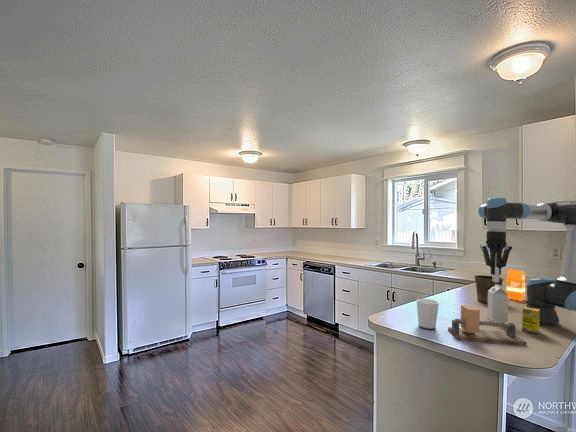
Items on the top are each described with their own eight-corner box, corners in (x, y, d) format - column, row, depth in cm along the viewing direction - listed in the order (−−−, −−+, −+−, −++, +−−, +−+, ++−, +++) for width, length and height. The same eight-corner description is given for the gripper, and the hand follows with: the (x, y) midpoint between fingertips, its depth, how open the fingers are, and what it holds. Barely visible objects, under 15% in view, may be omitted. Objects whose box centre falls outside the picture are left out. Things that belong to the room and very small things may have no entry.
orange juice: (509, 297, 217) (510, 269, 218) (525, 300, 211) (525, 270, 211) (506, 298, 212) (506, 269, 213) (521, 301, 206) (522, 271, 206)
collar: (472, 327, 142) (472, 305, 142) (479, 333, 135) (479, 310, 135) (460, 326, 143) (461, 305, 143) (467, 332, 136) (467, 309, 136)
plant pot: (475, 303, 199) (476, 278, 199) (471, 297, 214) (472, 274, 214) (505, 306, 192) (506, 280, 193) (499, 300, 207) (500, 276, 207)
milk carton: (502, 319, 165) (503, 284, 165) (507, 323, 158) (508, 286, 159) (487, 318, 167) (488, 283, 167) (492, 322, 160) (492, 285, 160)
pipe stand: (510, 335, 142) (510, 318, 142) (526, 345, 130) (526, 327, 130) (448, 330, 146) (448, 314, 146) (458, 340, 134) (458, 322, 134)
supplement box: (521, 331, 148) (522, 308, 148) (524, 328, 152) (524, 306, 152) (537, 334, 143) (538, 311, 144) (539, 331, 148) (539, 309, 148)
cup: (425, 331, 143) (426, 304, 143) (411, 324, 152) (412, 299, 153) (443, 330, 146) (443, 303, 146) (428, 323, 155) (428, 298, 155)
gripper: (506, 230, 146) (506, 280, 145) (477, 230, 147) (476, 279, 147) (516, 231, 138) (515, 284, 138) (485, 230, 140) (484, 282, 140)
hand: (495, 281), depth 142 cm, fingers closed
